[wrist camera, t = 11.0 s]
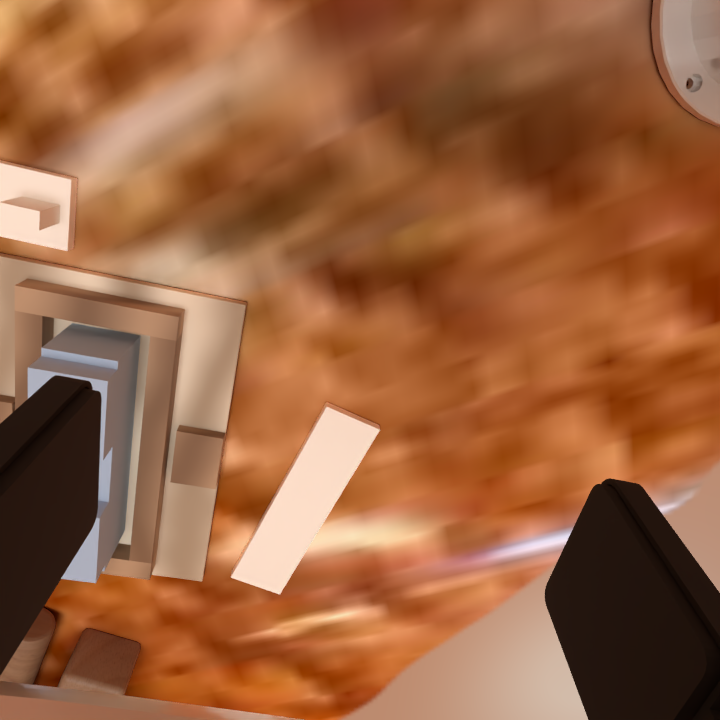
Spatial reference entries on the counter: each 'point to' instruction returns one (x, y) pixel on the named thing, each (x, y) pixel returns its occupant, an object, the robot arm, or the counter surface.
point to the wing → (305, 497)
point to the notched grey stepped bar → (118, 392)
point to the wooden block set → (76, 659)
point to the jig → (140, 395)
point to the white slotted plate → (37, 206)
